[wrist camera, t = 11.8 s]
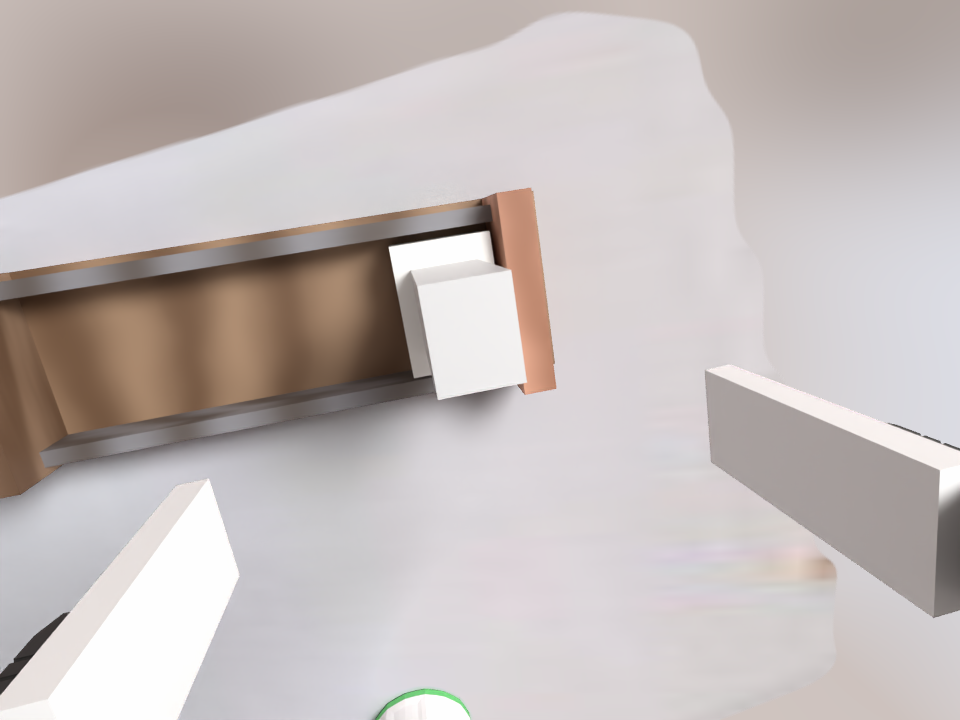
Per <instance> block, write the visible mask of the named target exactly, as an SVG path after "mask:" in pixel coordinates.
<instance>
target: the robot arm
mask: <svg viewBox="0 0 960 720" xmlns="http://www.w3.org/2000/svg"><path fill="white" fill-rule="evenodd" d="M705 382H706V396H707V411H708V425H709V440H710V454H711V462H712V463H713V464H715V465H716V466H718V467H719V468H721V469H722V470H723V471H725V472H726V473H728V474H729V475H730V476H732V477H733V478H735V479H736V480H738V481H739V482H740V483H742V484H743V485H745V486H746V487H748V488H749V489H750V490H752V491H753V492H755V493H756V494H758V495H759V496H760V497H762V498H763V499H765V500H766V501H768V502H769V503H770V504H772V505H773V506H775V507H776V508H778V509H779V510H780V511H782V512H783V513H785V514H786V515H788V516H789V517H790V518H792V519H793V520H795V521H796V522H798V523H799V524H800V525H802V526H803V527H805V528H806V529H808V530H809V531H810V532H812V533H813V534H815V535H816V536H818V537H819V538H820V539H822V540H823V541H825V542H826V543H828V544H829V545H831V546H832V547H833V548H835V549H836V550H837V551H839V552H840V553H842V554H843V555H845V556H846V557H848V558H849V559H851V560H852V561H853V562H855V563H856V564H857V565H859V566H860V567H862V568H863V569H865V570H866V571H867V572H869V573H870V574H872V575H873V576H875V577H876V578H877V579H879V580H880V581H882V582H883V583H885V584H886V585H888V586H889V587H890V588H892V589H893V590H895V591H896V592H897V593H899V594H900V595H902V596H903V597H905V598H906V599H908V600H909V601H910V602H912V603H913V604H915V605H916V606H917V607H919V608H920V609H922V610H923V611H925V612H926V613H927V614H929V615H930V616H932V617H933V618H935V617H938V616H941V615H945V614H948V613H952V612H955V611H958V610H960V448H957V447H954V446H951V445H949V444H946V443H944V444H941V442H940V441H938V440H936V439H933V438H930V437H928V436H921V434H920V433H917V432H914V431H912V430H909V429H906V428H903V427H901V426H898V425H895V424H890V423H885V422H882V421H879V420H876V419H874V418H871V417H868V416H866V415H863V414H860V413H858V412H855V411H852V410H850V409H847V408H845V407H842V406H839V405H837V404H834V403H831V402H829V401H826V400H823V399H821V398H818V397H815V396H813V395H810V394H808V393H805V392H802V391H800V390H797V389H794V388H791V387H789V386H786V385H784V384H781V383H778V382H776V381H773V380H770V379H768V378H765V377H763V376H760V375H757V374H755V373H752V372H749V371H747V370H744V369H741V368H739V367H736V366H733V365H731V364H730V365H725V366H721V367H716V368H712V369H707V370H705ZM239 576H240V575H239V572H238V568H237V565H236V562H235V559H234V556H233V553H232V550H231V546H230V543H229V540H228V537H227V534H226V531H225V528H224V524H223V521H222V518H221V515H220V512H219V509H218V506H217V502H216V499H215V496H214V493H213V490H212V487H211V484H210V480H209V478H208V479H204V480H199V481H195V482H190V483H185V484H181V485H176V486H175V488H174V489H173V490H172V491H171V492H170V494H169V495H168V496H167V497H166V498H165V500H164V501H163V502H162V503H161V504H160V506H159V507H158V508H157V509H156V510H155V511H154V513H153V514H152V515H151V516H150V517H149V519H148V520H147V521H146V522H145V523H144V525H143V526H142V527H141V528H140V529H139V531H138V532H137V533H136V534H135V535H134V537H133V538H132V539H131V540H130V541H129V543H128V544H127V545H126V546H125V547H124V548H123V550H122V551H121V552H120V553H119V554H118V556H117V557H116V558H115V559H114V560H113V562H112V563H111V564H110V565H109V566H108V568H107V569H106V570H105V571H104V572H103V574H102V575H101V576H100V577H99V578H98V580H97V581H96V582H95V583H94V584H93V585H92V587H91V588H90V589H89V590H88V591H87V593H86V594H85V595H84V596H83V597H82V599H81V600H80V601H79V602H78V603H77V605H76V606H75V607H74V608H73V609H72V611H71V612H68V613H63V614H62V615H61V616H59V617H58V618H57V619H55V620H54V621H53V622H52V623H50V624H49V625H48V626H46V627H45V628H44V629H42V630H41V631H40V632H39V633H37V634H36V635H35V636H34V637H33V638H32V639H31V640H30V641H29V642H28V643H27V645H26V646H25V647H24V648H23V649H22V650H21V651H20V653H19V654H18V655H17V656H16V657H15V658H14V663H11V664H9V665H8V666H7V667H6V669H5V670H4V671H3V672H2V673H1V674H0V720H177V719H178V717H179V715H180V712H181V710H182V708H183V705H184V703H185V701H186V698H187V696H188V694H189V692H190V689H191V687H192V685H193V682H194V680H195V678H196V675H197V673H198V671H199V668H200V666H201V664H202V661H203V659H204V657H205V654H206V652H207V650H208V647H209V645H210V643H211V641H212V638H213V636H214V634H215V631H216V629H217V627H218V624H219V622H220V620H221V617H222V615H223V613H224V610H225V608H226V606H227V603H228V601H229V599H230V596H231V594H232V592H233V590H234V587H235V585H236V583H237V580H238V578H239Z"/></svg>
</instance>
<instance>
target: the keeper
mask: <svg viewBox="0 0 960 720" xmlns="http://www.w3.org/2000/svg"><path fill="white" fill-rule="evenodd" d="M389 252H390V257H391V262H392V267H393V273H394V278H395V283H396V288H397V293H398V298H399V304H400V309H401V314H402V319H403V324H404V330H405V335H406V340H407V345H408V350H409V355H410V361H411V366H412V371H413V376H414V378H418V377H423V376H429V375H432V379H433V382H434V386H435V390H436V394H437V398H438V400H441V399H446V398H451V397H456V396H461V395H466V394H471V393H476V392H482V391H487V390H492V389H497V388H502V387H507V386H512V385H517V384H523V383H527V379H526V372H525V365H524V358H523V350H522V343H521V336H520V329H519V322H518V315H517V308H516V300H515V293H514V286H513V279H512V272H511V270H510V269H507V268H504V267H500V266H497V265H495V264H494V257H493V250H492V243H491V237H490V231H476V232H470V233H464V234H458V235H451V236H445V237H439V238H433V239H427V240H421V241H415V242H408V243H402V244H396V245H390V246H389Z"/></svg>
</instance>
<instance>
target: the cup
mask: <svg viewBox="0 0 960 720" xmlns="http://www.w3.org/2000/svg"><path fill="white" fill-rule="evenodd" d="M376 720H470V716H469V712H468V710H467V709H466V707H465V706H464V704H463V703H462V702H461V701H460V699H458V698H456V697H454V696H453V695H450V694H448V693H446V692H444V691H438V690H430V689H422V690H418V691H413V692H410V693H406V694H404V695H402V696H400V697H398V698H396V699H395V700H393V701H391V702H390V703H388V704H387V705H386V706H385V708H384V709H383V710H382V711H381V713H380V714H379V715H378V717H377V718H376Z"/></svg>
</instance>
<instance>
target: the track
mask: <svg viewBox="0 0 960 720" xmlns="http://www.w3.org/2000/svg"><path fill="white" fill-rule="evenodd" d="M476 231H490V237H491V243H492V250H493V257H494V264H495V265H497V266H500V267H504V268H507V269H510V270H511V272H512V279H513V286H514V293H515V300H516V308H517V315H518V322H519V329H520V336H521V343H522V350H523V358H524V365H525V372H526V379H527V383H523V384H517V385H518V387H519V388H520V389H521V390H522V392H523V393H524V394H525V395H526V394H532V393H537V392H542V391H547V390H552V389H556V382H555V374H554V366H553V364H555V361H554V353H553V345H552V337H551V329H550V322H549V314H548V306H547V298H546V290H545V282H544V274H543V266H542V258H541V250H540V242H539V234H538V226H537V218H536V210H535V202H534V194H533V191H531V188H526V189H519V190H513V191H507V192H500V193H495V194H493V195H490V196H488V197H485V198H482V199H477V200H471V201H465V202H458V203H452V204H445V205H439V206H433V207H426V208H420V209H413V210H407V211H401V212H394V213H388V214H381V215H375V216H369V217H362V218H356V219H350V220H343V221H337V222H330V223H324V224H318V225H311V226H305V227H298V228H292V229H286V230H279V231H273V232H266V233H260V234H254V235H247V236H241V237H234V238H228V239H222V240H215V241H209V242H202V243H196V244H190V245H183V246H177V247H170V248H164V249H158V250H151V251H145V252H138V253H132V254H126V255H119V256H113V257H106V258H100V259H94V260H87V261H81V262H74V263H68V264H62V265H55V266H49V267H42V268H36V269H30V270H23V271H17V272H10V273H2V274H0V498H5V497H10V496H15V495H21V494H22V493H23V492H25V491H26V490H28V489H29V488H31V487H32V486H33V485H35V484H36V483H38V482H39V481H41V480H42V479H43V478H45V477H46V476H48V475H49V474H51V473H52V472H53V471H55V470H56V469H58V468H59V467H61V466H62V465H63V464H67V463H72V462H78V461H83V460H88V459H93V458H98V457H103V456H109V455H114V454H119V453H124V452H129V451H134V450H140V449H145V448H150V447H155V446H160V445H165V444H171V443H176V442H181V441H186V440H191V439H196V438H202V437H207V436H212V435H217V434H222V433H227V432H233V431H238V430H243V429H248V428H253V427H258V426H264V425H269V424H274V423H279V422H284V421H289V420H295V419H300V418H305V417H310V416H315V415H320V414H326V413H331V412H336V411H341V410H346V409H351V408H357V407H362V406H367V405H372V404H377V403H382V402H387V401H393V400H398V399H403V398H408V397H413V396H418V395H424V394H429V393H434V392H436V390H435V386H434V382H433V379H432V375H429V376H423V377H418V378H414V376H413V371H412V366H411V361H410V355H409V350H408V345H407V340H406V335H405V330H404V324H403V319H402V314H401V309H400V304H399V298H398V293H397V288H396V283H395V278H394V273H393V267H392V262H391V257H390V252H389V246H390V245H396V244H402V243H408V242H415V241H421V240H427V239H433V238H439V237H445V236H451V235H458V234H464V233H470V232H476Z"/></svg>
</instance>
